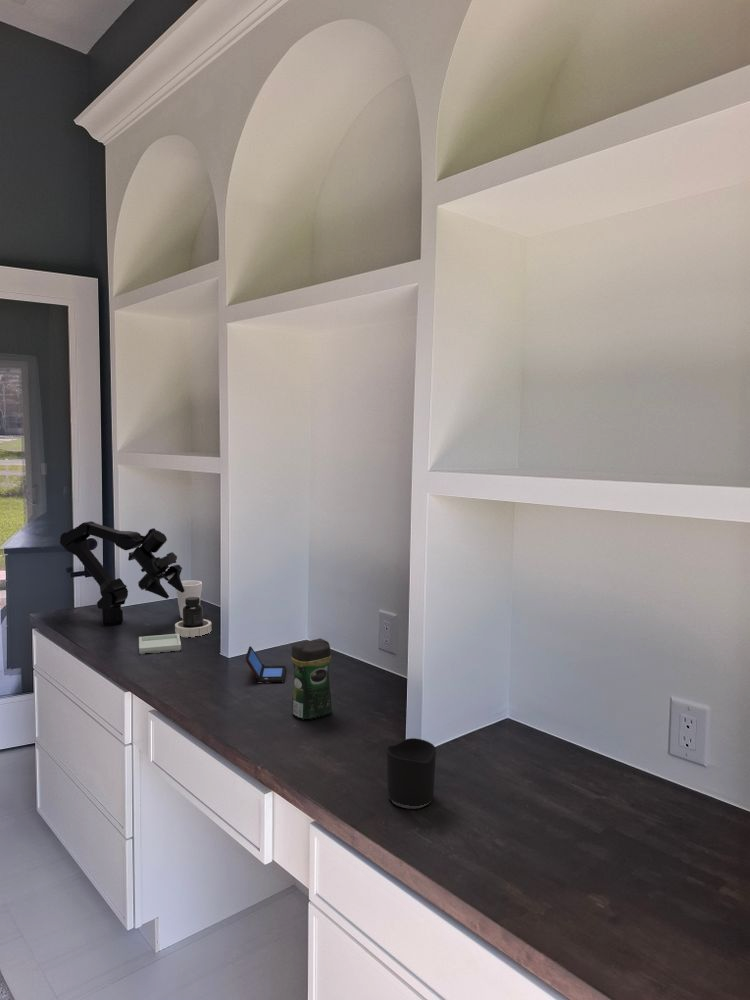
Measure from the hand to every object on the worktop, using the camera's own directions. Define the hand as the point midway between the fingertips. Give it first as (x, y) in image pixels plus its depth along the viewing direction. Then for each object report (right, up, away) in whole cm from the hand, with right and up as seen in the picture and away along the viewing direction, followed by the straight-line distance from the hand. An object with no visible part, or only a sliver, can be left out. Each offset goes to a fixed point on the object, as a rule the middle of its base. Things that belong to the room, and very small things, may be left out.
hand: (175, 594), depth 245 cm
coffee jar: (+53, -21, -69) cm, 90 cm away
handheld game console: (+38, -18, -43) cm, 60 cm away
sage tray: (0, -14, -17) cm, 22 cm away
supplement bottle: (+6, -13, -1) cm, 14 cm away
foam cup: (0, -11, +18) cm, 21 cm away
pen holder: (+76, -25, -109) cm, 135 cm away
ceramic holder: (+6, -13, -1) cm, 14 cm away
